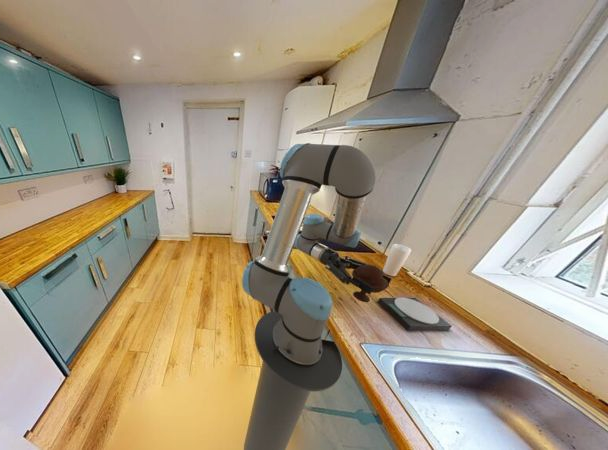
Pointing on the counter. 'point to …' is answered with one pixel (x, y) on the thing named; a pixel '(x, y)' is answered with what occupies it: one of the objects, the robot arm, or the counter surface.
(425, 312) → the kitchen scale
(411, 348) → the counter surface
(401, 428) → the counter surface
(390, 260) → the drinking glass
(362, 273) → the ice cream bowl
